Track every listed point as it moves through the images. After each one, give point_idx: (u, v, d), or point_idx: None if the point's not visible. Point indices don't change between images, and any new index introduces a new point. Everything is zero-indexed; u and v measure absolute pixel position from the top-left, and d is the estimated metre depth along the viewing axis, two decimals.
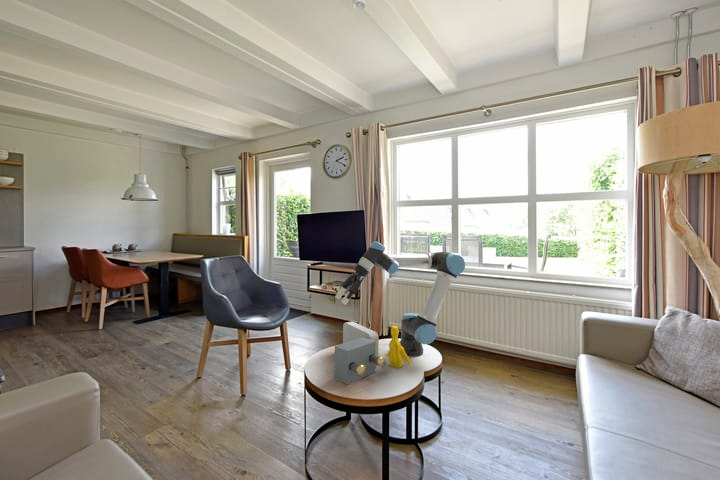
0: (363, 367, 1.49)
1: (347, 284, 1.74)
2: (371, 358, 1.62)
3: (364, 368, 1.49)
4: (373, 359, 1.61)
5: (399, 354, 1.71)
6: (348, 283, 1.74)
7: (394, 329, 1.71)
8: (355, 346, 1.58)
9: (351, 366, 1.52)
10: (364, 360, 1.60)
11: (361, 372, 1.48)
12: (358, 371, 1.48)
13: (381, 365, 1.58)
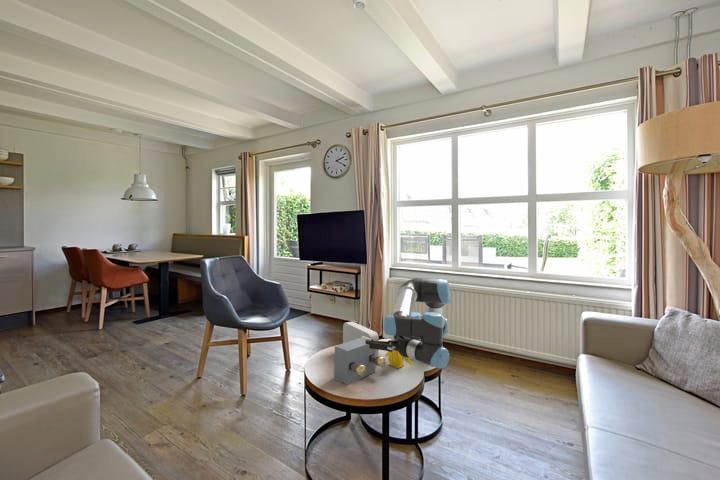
0: (363, 367, 1.49)
1: None
2: (371, 358, 1.62)
3: (364, 368, 1.49)
4: (373, 359, 1.61)
5: (399, 354, 1.71)
6: None
7: None
8: (355, 346, 1.58)
9: (351, 366, 1.52)
10: (364, 360, 1.60)
11: (361, 372, 1.48)
12: (358, 371, 1.48)
13: (381, 365, 1.58)
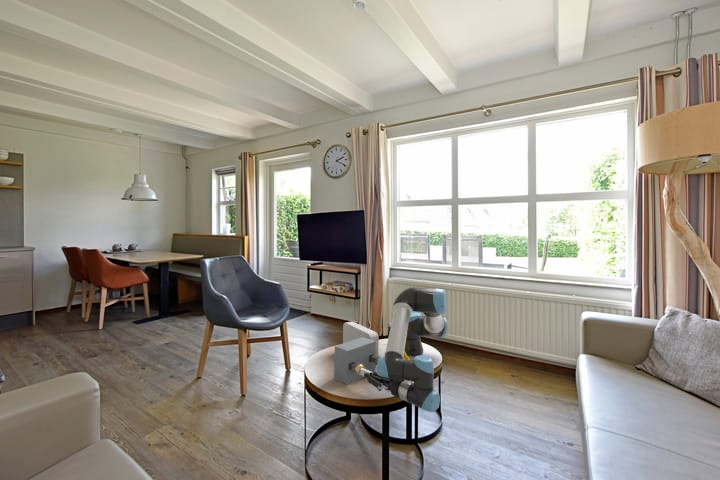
0: (362, 366, 1.50)
1: None
2: (371, 358, 1.62)
3: (363, 367, 1.50)
4: (373, 359, 1.61)
5: None
6: None
7: None
8: (355, 346, 1.58)
9: (350, 365, 1.53)
10: (364, 360, 1.60)
11: None
12: (357, 370, 1.48)
13: None
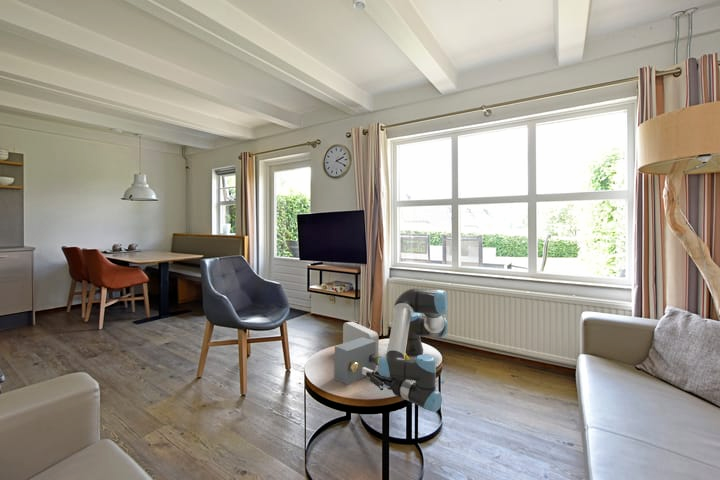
0: (357, 364, 1.52)
1: None
2: (371, 358, 1.62)
3: (358, 365, 1.52)
4: (373, 359, 1.61)
5: None
6: None
7: None
8: (355, 346, 1.58)
9: None
10: (364, 360, 1.60)
11: (355, 369, 1.51)
12: (352, 368, 1.51)
13: None
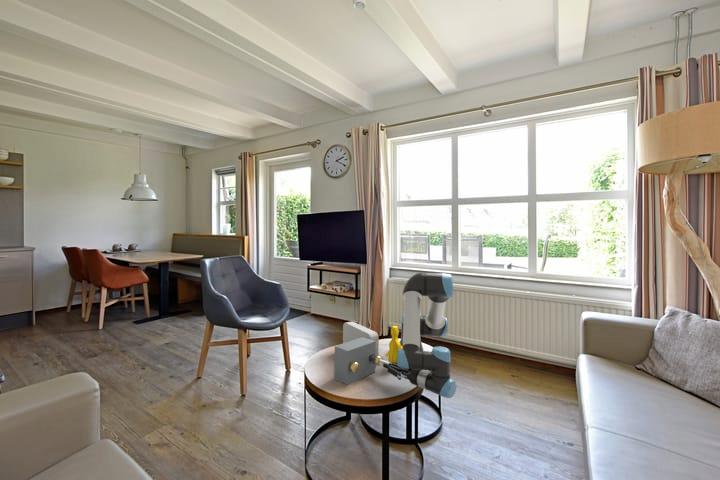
0: (357, 364, 1.52)
1: None
2: (369, 357, 1.63)
3: (358, 365, 1.52)
4: (371, 359, 1.62)
5: None
6: None
7: (394, 329, 1.71)
8: (355, 346, 1.58)
9: None
10: (364, 360, 1.60)
11: (355, 369, 1.51)
12: (352, 368, 1.51)
13: None
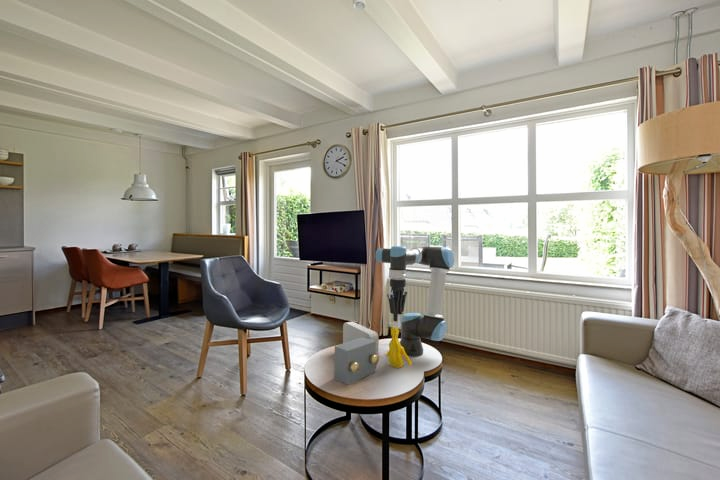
0: (357, 364, 1.52)
1: None
2: None
3: (358, 365, 1.52)
4: None
5: (399, 354, 1.71)
6: None
7: (394, 329, 1.71)
8: (355, 346, 1.58)
9: None
10: (364, 360, 1.60)
11: (355, 369, 1.51)
12: (352, 368, 1.51)
13: (375, 363, 1.61)
